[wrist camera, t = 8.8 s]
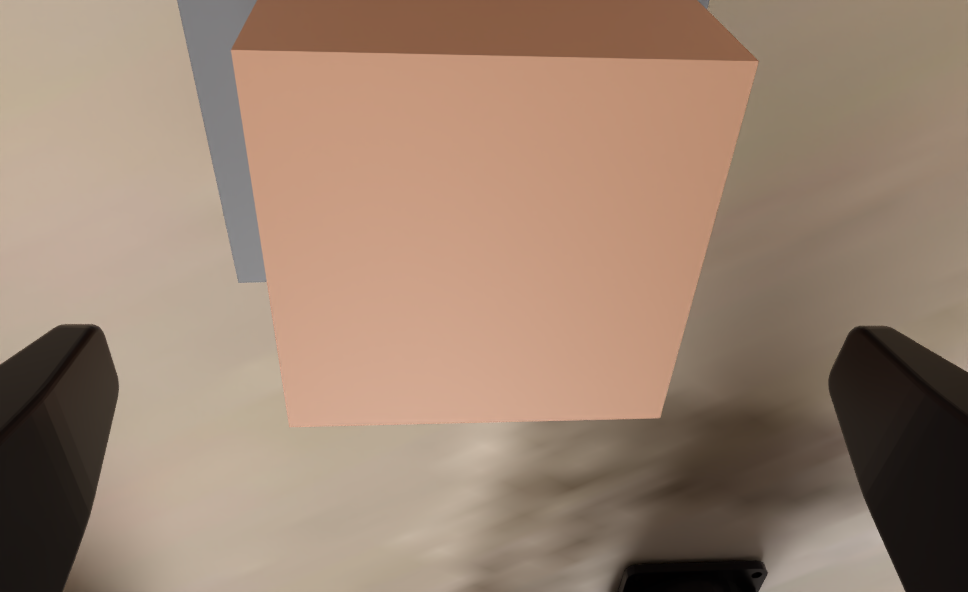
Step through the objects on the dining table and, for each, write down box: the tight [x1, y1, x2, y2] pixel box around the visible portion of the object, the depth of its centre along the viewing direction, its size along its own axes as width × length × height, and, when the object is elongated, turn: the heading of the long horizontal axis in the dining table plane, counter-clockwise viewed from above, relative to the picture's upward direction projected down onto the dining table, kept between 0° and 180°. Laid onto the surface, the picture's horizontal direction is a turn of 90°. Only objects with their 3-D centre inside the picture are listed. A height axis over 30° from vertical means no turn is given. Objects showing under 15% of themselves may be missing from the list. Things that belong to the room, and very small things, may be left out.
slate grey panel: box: [177, 0, 709, 283], centre depth 15 cm, size 9×9×3 cm
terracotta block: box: [231, 0, 759, 427], centre depth 12 cm, size 6×6×6 cm
